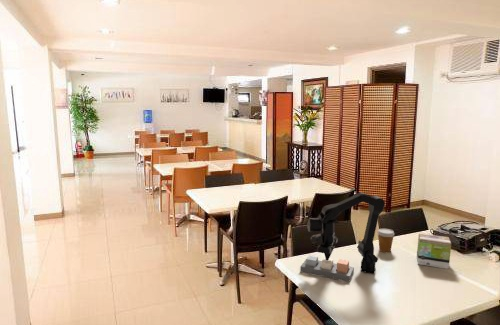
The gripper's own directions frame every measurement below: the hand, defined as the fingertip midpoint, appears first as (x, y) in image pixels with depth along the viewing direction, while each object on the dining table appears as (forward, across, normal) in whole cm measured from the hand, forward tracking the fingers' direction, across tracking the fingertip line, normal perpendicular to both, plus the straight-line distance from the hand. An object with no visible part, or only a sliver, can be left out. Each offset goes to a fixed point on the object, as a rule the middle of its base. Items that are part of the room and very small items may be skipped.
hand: (327, 260), depth 180 cm
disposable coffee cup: (+7, -44, +24) cm, 50 cm away
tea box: (+7, -36, +49) cm, 61 cm away
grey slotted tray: (+7, 0, 0) cm, 7 cm away
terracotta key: (+4, 0, +8) cm, 9 cm away
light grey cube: (+5, 0, -8) cm, 10 cm away
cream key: (+6, 0, 0) cm, 6 cm away
